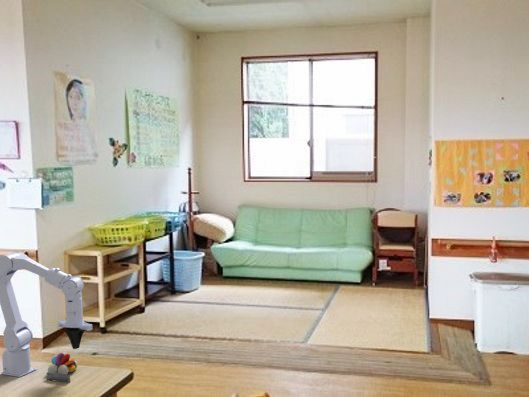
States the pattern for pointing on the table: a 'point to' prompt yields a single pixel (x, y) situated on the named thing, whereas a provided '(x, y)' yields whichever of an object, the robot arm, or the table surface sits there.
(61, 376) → the rail
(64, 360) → the rainbow disc baby rattle
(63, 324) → the robot arm
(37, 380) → the table surface
